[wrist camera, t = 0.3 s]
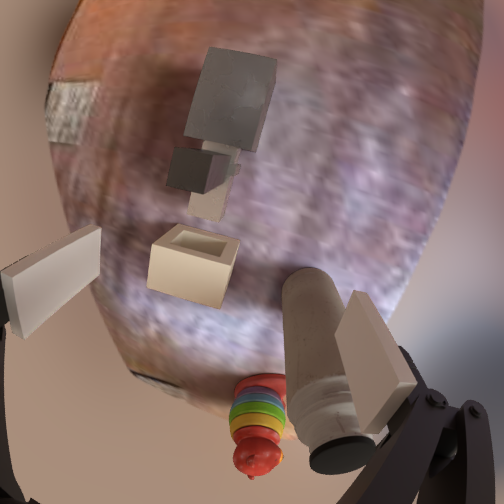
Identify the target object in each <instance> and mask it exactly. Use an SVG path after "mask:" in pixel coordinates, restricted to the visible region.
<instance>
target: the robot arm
mask: <svg viewBox="0 0 504 504" xmlns="http://www.w3.org/2000/svg"><path fill="white" fill-rule="evenodd" d="M100 245H101V227H99V226H95V225H91V224H89V225H87V226H85V227H83V228H81V229H79V230H77V231H75V232H73V233H71V234H69V235H67V236H65V237H63V238H61V239H59V240H57V241H55V242H53V243H51V244H49V245H47V246H45V247H44V248H42V249H40V250H38V251H36V252H34V253H32V254H30V255H28V256H25V257H24V258H22V259H20V260H19V261H16V262H15V263H13V265H12V264H11V265H10V266H8V267H6V268H4V269H3V270H1V271H0V504H40V503H38V502H37V501H35V500H34V499H32V498H30V501H29V502H26V501H25V498H24V496H23V493H22V491H21V489H20V487H19V485H18V483H17V481H16V479H15V477H14V473H13V470H12V464H11V458H10V452H9V446H8V439H7V430H6V419H5V405H4V353H5V339H6V329H5V326H4V325H5V324H6V323H7V322H8V321H10V325H11V329H12V333H14V334H16V335H17V336H19V337H20V338H22V339H24V340H25V339H26V338H27V337H28V336H29V335H30V334H31V333H32V332H33V331H35V330H36V329H37V328H38V327H39V326H40V325H41V324H42V323H43V322H44V321H46V320H47V319H48V318H49V317H50V316H51V315H52V314H53V313H55V312H56V311H57V310H58V309H59V308H60V307H61V306H62V305H64V304H65V303H66V302H67V301H68V300H70V299H71V298H72V297H73V296H74V295H76V294H77V293H78V292H79V291H80V290H82V289H83V288H84V287H85V286H86V285H88V284H89V283H90V282H91V281H93V280H94V279H95V278H96V277H98V276H99V275H100ZM335 338H336V342H337V345H338V348H339V352H340V355H341V359H342V362H343V366H344V369H345V373H346V377H347V380H348V384H349V388H350V391H351V395H352V399H353V403H354V407H355V411H356V415H357V419H358V423H359V427H360V431H361V434H379V433H380V431H381V430H382V429H383V428H384V427H385V426H386V425H387V426H388V429H389V433H388V434H387V435H386V436H385V437H384V438H383V440H382V441H381V442H380V443H379V444H378V445H377V446H376V447H375V449H376V451H375V453H374V454H373V456H372V457H371V459H370V460H369V462H368V463H367V464H366V466H365V467H364V469H363V470H362V472H361V473H360V474H359V476H358V477H357V478H356V480H355V481H354V482H353V483H352V485H351V486H350V487H349V489H348V490H347V491H346V492H345V494H344V495H343V496H342V497H341V499H340V500H339V501H338V502H337V503H336V504H412V503H413V501H414V499H415V497H416V495H417V493H418V491H419V494H418V499H417V504H495V473H494V460H493V450H492V441H491V434H490V427H489V421H488V416H487V413H486V410H485V409H484V407H483V406H482V405H481V404H480V403H479V402H476V401H473V400H467V401H466V402H465V403H464V404H463V405H462V407H461V408H460V409H458V408H455V407H451V406H448V402H447V400H446V398H445V397H444V396H443V395H442V394H441V393H439V392H438V391H436V390H434V389H428V388H427V386H426V384H425V382H424V380H423V379H422V377H421V375H420V373H419V371H418V370H417V369H416V368H417V367H416V366H415V364H414V363H413V360H412V359H411V357H410V355H409V353H407V351H406V350H405V349H403V348H402V347H401V346H398V345H397V344H396V342H395V340H394V338H393V336H392V335H391V333H390V331H389V329H388V328H387V326H386V324H385V322H384V321H383V319H382V317H381V316H380V314H379V312H378V311H377V309H376V307H375V306H374V304H373V302H372V301H371V299H370V297H369V296H368V294H367V293H365V292H361V291H356V290H353V293H352V295H351V298H350V300H349V303H348V305H347V307H346V310H345V312H344V314H343V317H342V319H341V321H340V324H339V326H338V328H337V330H336V333H335ZM456 452H457V453H456ZM455 453H456V455H455Z"/></svg>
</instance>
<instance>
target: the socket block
mask: <svg viewBox="0 0 504 504" xmlns="http://www.w3.org/2000/svg"><path fill="white" fill-rule="evenodd" d="M239 243H240V240H238V239H234V238H230V237H227V236H223V235H219V234H216V233H212V232H208V231H204V230H201V229H197V228H193V227H189V226H186V225H182V224H177V225H176V226H175V227H173V228H172V229H171V230H169V231H168V232H167V233H165V234H164V235H163V236H162V237H160V238H159V239H158V240H156V241H155V242H154V243H153V244H152V248H151V255H150V263H149V271H148V279H147V288H150V289H153V290H156V291H159V292H162V293H166V294H169V295H172V296H175V297H179V298H182V299H185V300H189V301H192V302H196V303H199V304H202V305H206V306H210V307H213V308H217V309H220V308H221V305H222V302H223V299H224V296H225V293H226V290H227V287H228V284H229V281H230V278H231V274H232V270H233V266H234V263H235V259H236V255H237V251H238V247H239Z"/></svg>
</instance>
